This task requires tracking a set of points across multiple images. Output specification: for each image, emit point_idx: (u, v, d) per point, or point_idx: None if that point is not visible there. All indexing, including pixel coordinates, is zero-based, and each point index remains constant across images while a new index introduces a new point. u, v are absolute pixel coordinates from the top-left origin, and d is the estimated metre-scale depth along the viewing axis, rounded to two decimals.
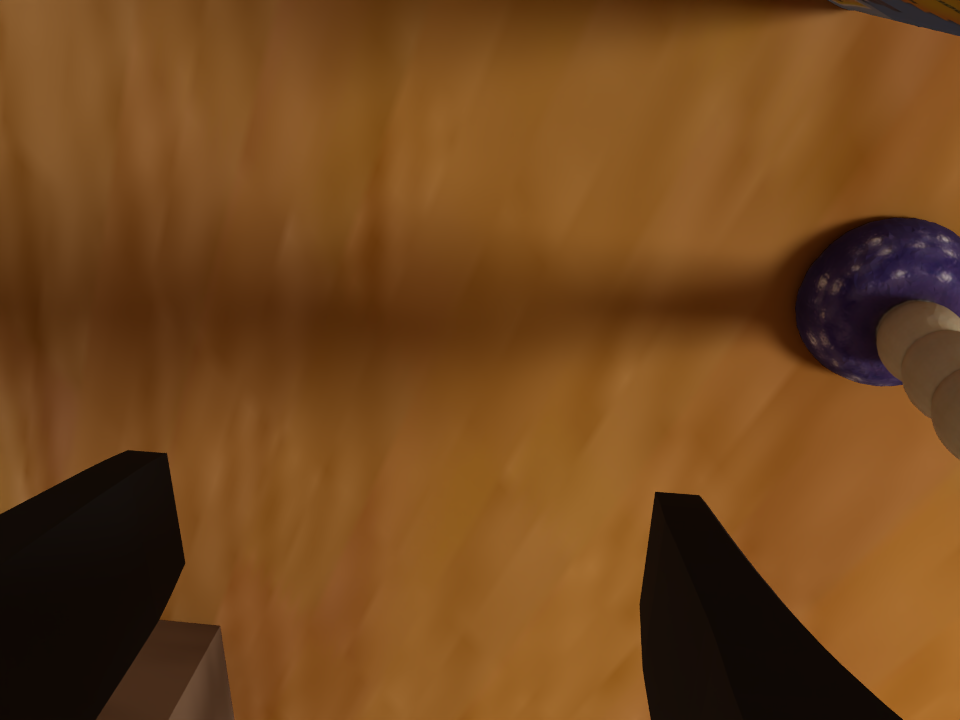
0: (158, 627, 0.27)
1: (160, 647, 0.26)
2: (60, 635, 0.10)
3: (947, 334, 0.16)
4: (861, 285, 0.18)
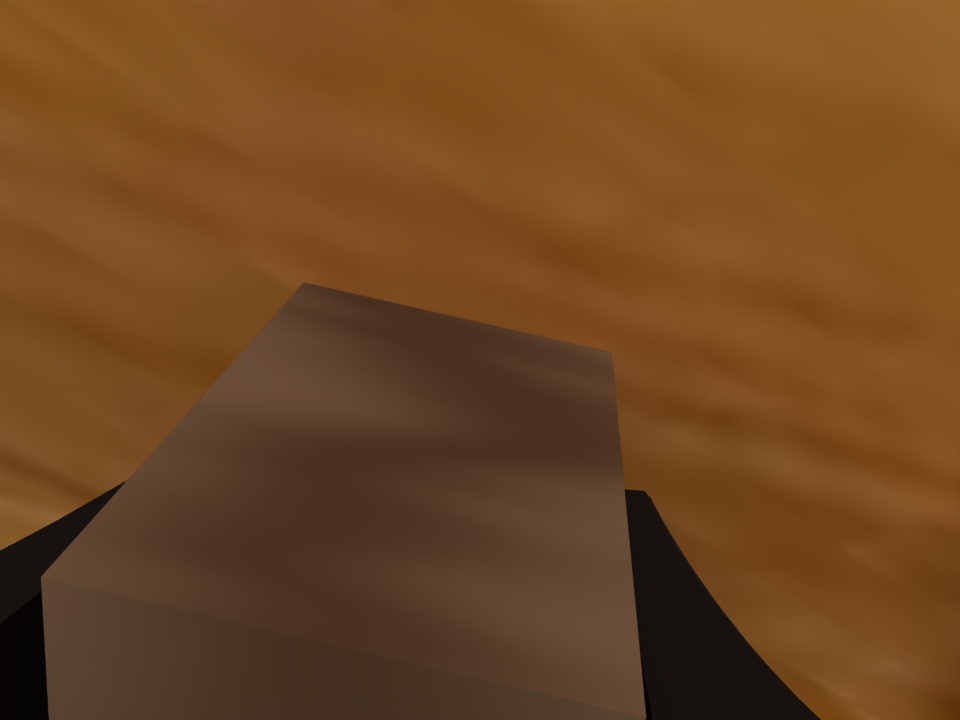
0: None
1: None
2: None
3: None
4: None
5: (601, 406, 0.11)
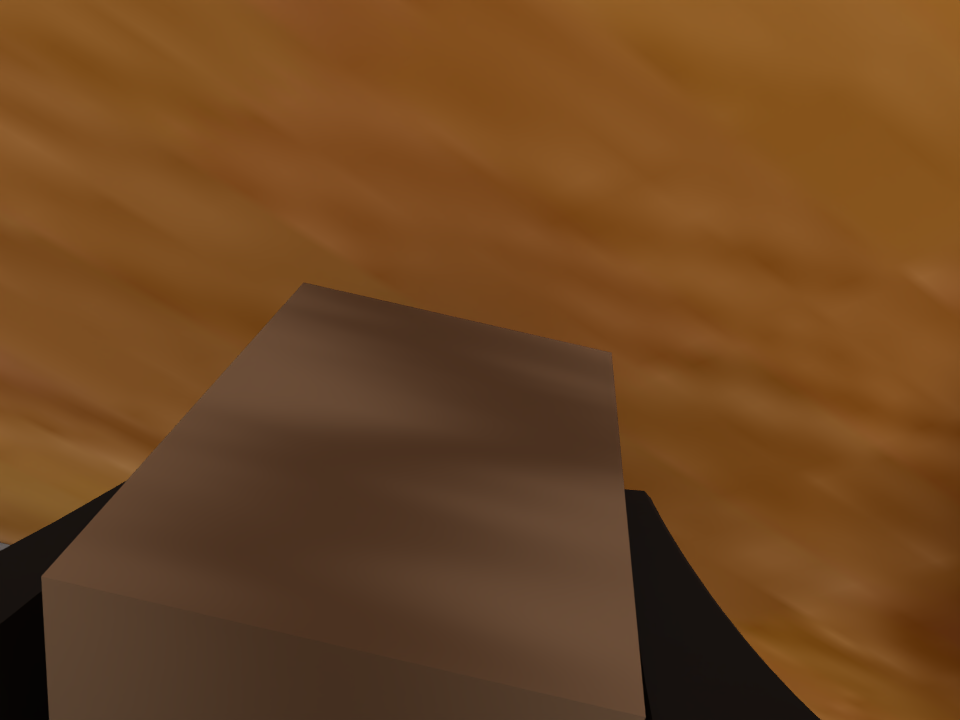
0: None
1: None
2: None
3: None
4: None
5: (601, 406, 0.11)
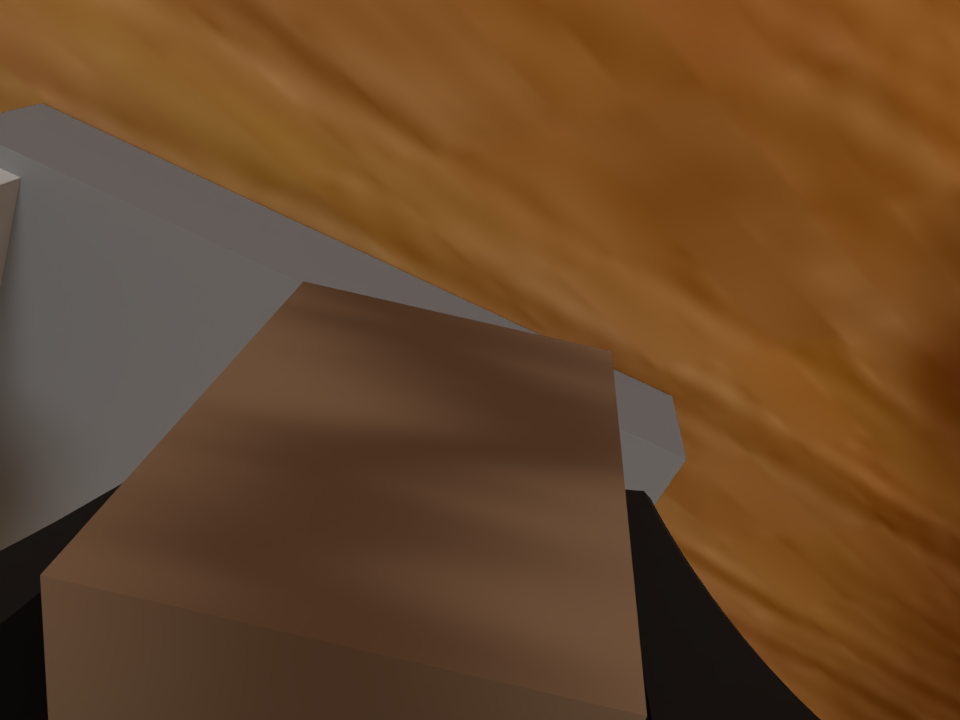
0: None
1: None
2: None
3: None
4: None
5: (601, 405, 0.11)
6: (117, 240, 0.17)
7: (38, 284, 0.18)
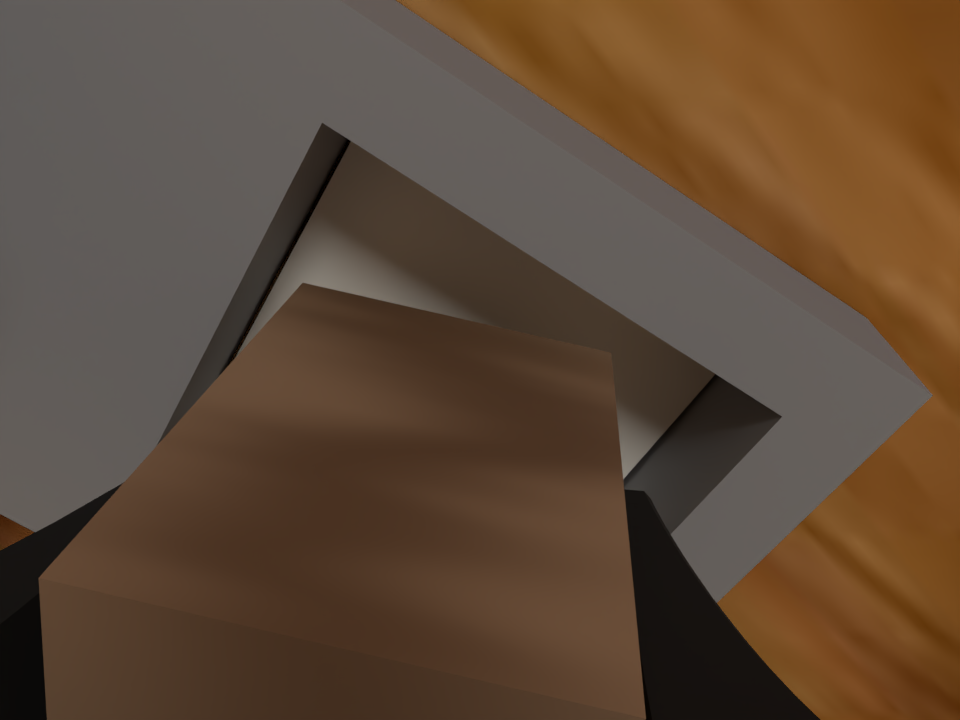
0: None
1: None
2: None
3: None
4: None
5: (601, 406, 0.11)
6: None
7: None
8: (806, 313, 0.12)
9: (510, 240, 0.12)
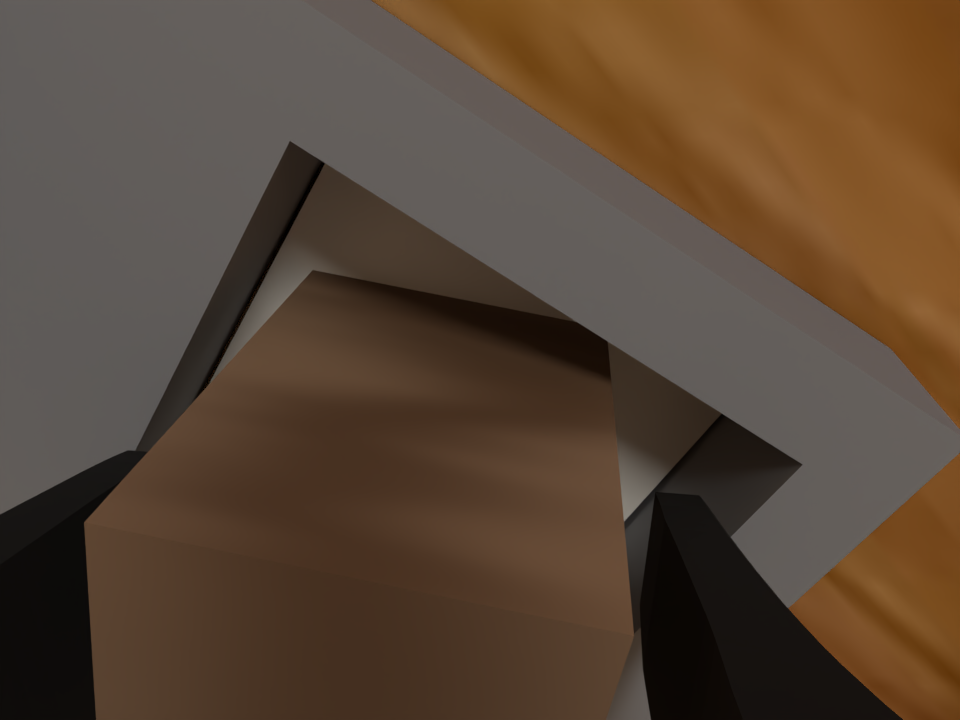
0: None
1: None
2: (60, 635, 0.10)
3: None
4: None
5: (596, 375, 0.12)
6: None
7: None
8: (831, 352, 0.10)
9: (501, 271, 0.10)
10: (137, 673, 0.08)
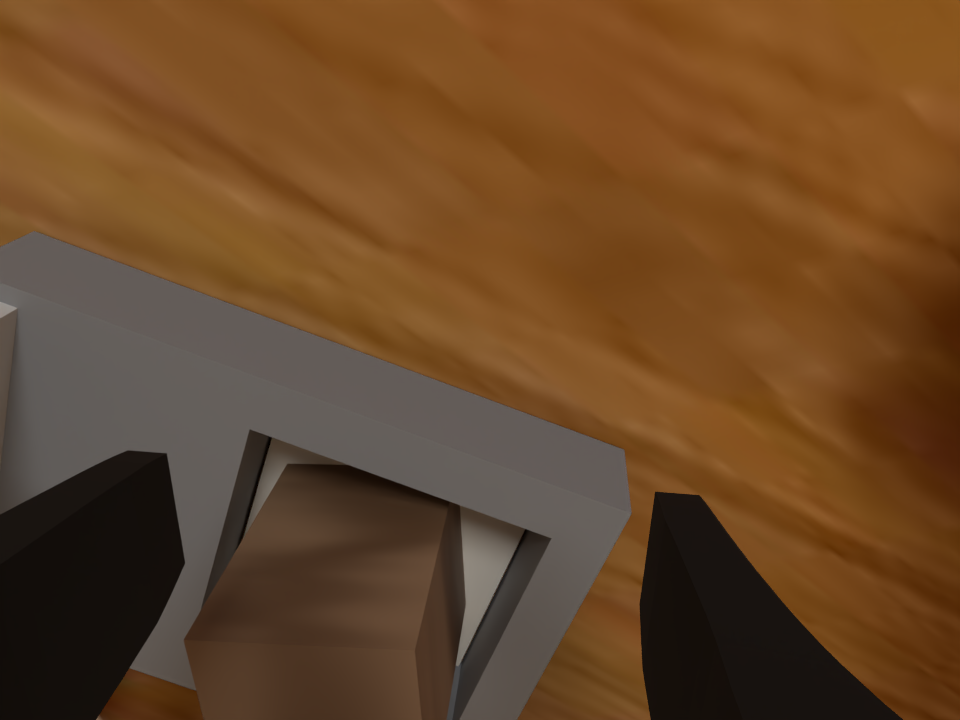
0: None
1: None
2: (60, 635, 0.10)
3: None
4: None
5: (440, 505, 0.21)
6: (106, 355, 0.19)
7: (40, 397, 0.20)
8: (542, 481, 0.20)
9: (367, 471, 0.20)
10: (218, 701, 0.18)
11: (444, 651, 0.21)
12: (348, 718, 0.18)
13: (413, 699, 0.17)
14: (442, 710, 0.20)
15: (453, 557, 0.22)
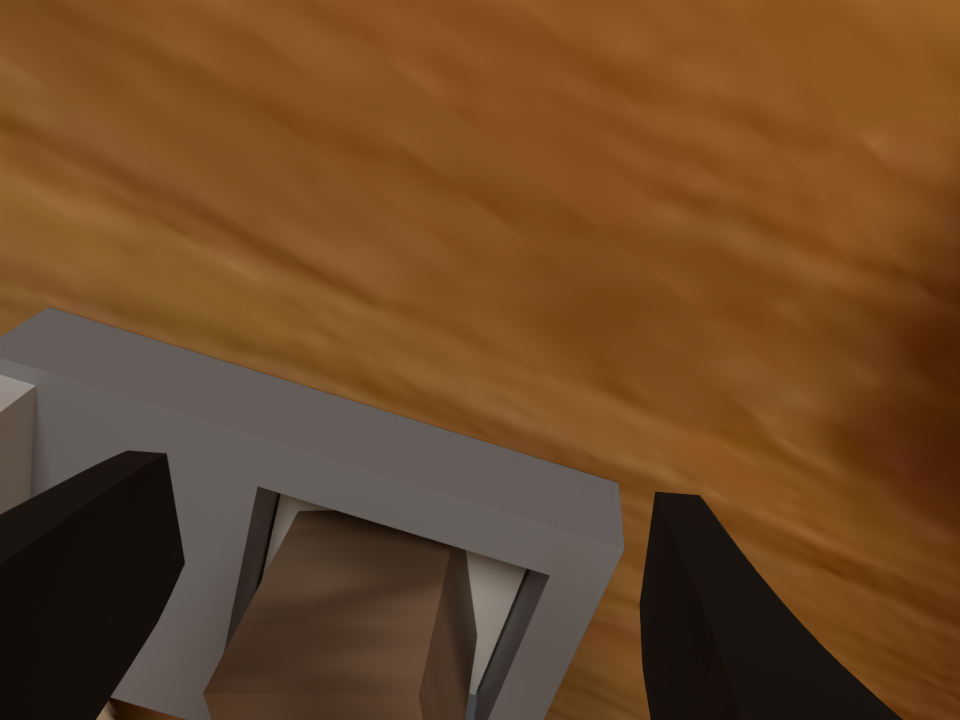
0: None
1: None
2: (60, 635, 0.10)
3: None
4: None
5: (443, 547, 0.22)
6: (120, 424, 0.21)
7: (61, 465, 0.21)
8: (537, 523, 0.21)
9: (370, 520, 0.21)
10: None
11: (454, 687, 0.22)
12: None
13: None
14: None
15: (459, 595, 0.23)
